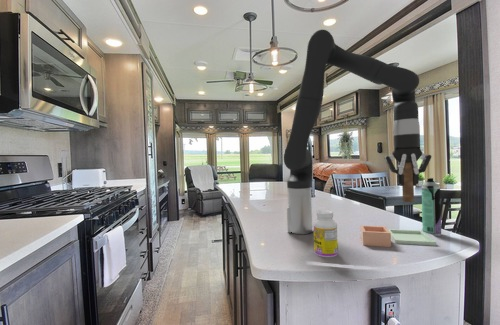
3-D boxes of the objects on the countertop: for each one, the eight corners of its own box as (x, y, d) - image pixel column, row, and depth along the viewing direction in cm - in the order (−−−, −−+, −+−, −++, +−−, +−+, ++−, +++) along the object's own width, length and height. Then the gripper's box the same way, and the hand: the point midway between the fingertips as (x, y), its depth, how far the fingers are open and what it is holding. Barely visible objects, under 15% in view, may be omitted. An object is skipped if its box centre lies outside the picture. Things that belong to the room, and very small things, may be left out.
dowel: (404, 202, 84) (403, 162, 84) (401, 200, 87) (400, 162, 87) (415, 202, 83) (414, 162, 83) (412, 200, 86) (411, 162, 86)
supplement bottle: (311, 252, 78) (309, 210, 78) (332, 250, 78) (331, 209, 78) (318, 260, 71) (317, 214, 71) (341, 259, 72) (340, 213, 72)
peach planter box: (363, 247, 80) (362, 231, 80) (360, 240, 88) (360, 225, 88) (391, 249, 78) (390, 233, 78) (385, 241, 85) (385, 226, 85)
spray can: (444, 236, 88) (443, 178, 88) (427, 236, 90) (425, 178, 89) (436, 231, 94) (435, 177, 94) (420, 231, 95) (418, 177, 95)
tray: (395, 245, 81) (395, 240, 81) (387, 234, 93) (386, 229, 93) (436, 248, 78) (436, 242, 78) (421, 235, 90) (421, 230, 90)
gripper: (385, 134, 84) (386, 186, 84) (435, 131, 79) (437, 186, 80) (380, 136, 91) (382, 184, 91) (426, 133, 87) (428, 184, 87)
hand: (407, 185), depth 85 cm, fingers closed on dowel, 3 cm apart
